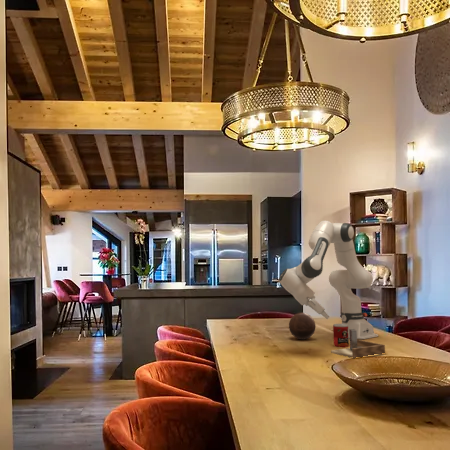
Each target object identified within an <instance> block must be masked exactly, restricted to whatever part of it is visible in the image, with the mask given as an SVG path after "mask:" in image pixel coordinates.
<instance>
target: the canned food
mask: <svg viewBox="0 0 450 450" xmlns="http://www.w3.org/2000/svg"><path fill="white" fill-rule="evenodd" d="M332 330H333V331H332V333H333V335H332V336H333V346H334V347H337V348H349V347H350V338H349V337H348V325H347V324H342V323H333V325H332Z"/></svg>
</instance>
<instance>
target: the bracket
mask: <svg viewBox="0 0 450 450" xmlns="http://www.w3.org/2000/svg"><path fill="white" fill-rule="evenodd" d="M349 335H350V338H349V348H350V350H351V351H352V348H359V347H357V340H358V339H357V331H356V330H355V329H349Z"/></svg>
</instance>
